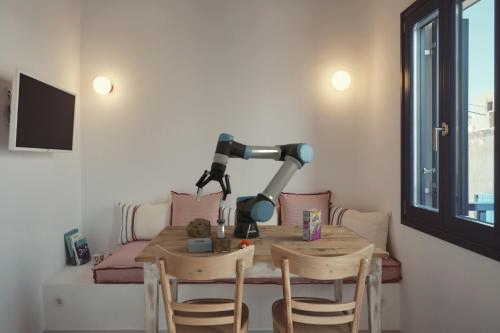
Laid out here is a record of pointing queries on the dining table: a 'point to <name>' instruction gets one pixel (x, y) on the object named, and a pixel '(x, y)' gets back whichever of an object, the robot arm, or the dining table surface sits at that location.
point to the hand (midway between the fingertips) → (209, 203)
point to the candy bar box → (311, 224)
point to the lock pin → (220, 228)
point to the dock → (199, 245)
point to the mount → (221, 244)
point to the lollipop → (245, 241)
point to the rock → (199, 227)
